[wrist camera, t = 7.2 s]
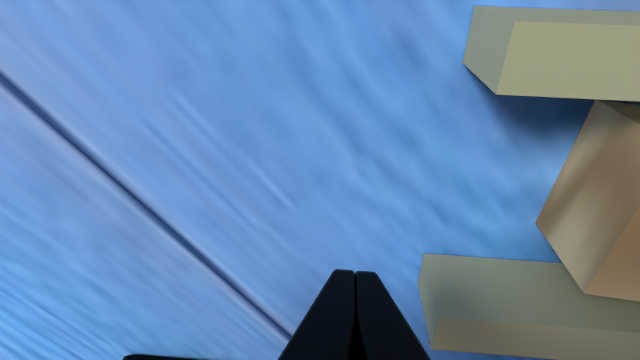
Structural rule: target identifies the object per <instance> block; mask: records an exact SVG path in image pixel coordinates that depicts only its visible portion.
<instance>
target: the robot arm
mask: <svg viewBox="0 0 640 360" xmlns="http://www.w3.org/2000/svg"><path fill="white" fill-rule="evenodd" d="M123 360H181V359H169V358H158V357H146V356H134V355H127V356H125V357H124V358H123ZM278 360H431V359H430V358H429V356H428V355H427V353H426V351H425V350H424V348H423V347H422V345H421V343H420V342H419V340H418V339H417V337H416V335H415V334H414V332H413V331H412V329H411V327H410V326H409V324H408V323H407V321H406V320H405V318H404V316H403V315H402V313H401V312H400V310H399V308H398V307H397V305H396V304H395V302H394V300H393V299H392V297H391V296H390V294H389V292H388V291H387V289H386V288H385V286H384V285H383V283H382V281H381V280H380V278H379V277H378V275H377V274H376V273H375V272H369V271H357V272H356V273H354V271H352V270H342V269H336V270H334V271H333V272H332V274H331V276H330V277H329V279H328V280H327V282H326V284H325V285H324V287H323V288H322V290H321V291H320V293H319V295H318V296H317V298H316V299H315V301H314V303H313V304H312V306H311V307H310V309H309V311H308V312H307V314H306V315H305V317H304V319H303V320H302V322H301V323H300V325H299V327H298V328H297V330H296V331H295V333H294V335H293V336H292V338H291V339H290V341H289V343H288V344H287V346H286V347H285V349H284V350H283V352H282V354H281V355H280V357H279V358H278Z"/></svg>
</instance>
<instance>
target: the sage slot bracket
mask: <svg viewBox="0 0 640 360" xmlns="http://www.w3.org/2000/svg"><path fill="white" fill-rule="evenodd" d="M463 64H464V65H465V66H466V67H467V68H468V69H469V70H471V71H472V72H473V73H474V74H475V75H476V76H477V77H478V78H479V79H480V80H481V81H482V82H483V83H484V84H485V85H486V86H488V87H489V88H490V89H491V90H492V91H493V92H494V93H495V94H496V95H516V96H537V97H558V98H578V99H599V100H620V101H640V12H629V11H602V10H575V9H547V8H520V7H493V6H474V10H473V15H472V20H471V25H470V30H469V35H468V39H467V44H466V49H465V54H464V59H463ZM418 287H419V292H420V297H421V302H422V307H423V312H424V317H425V322H426V327H427V332H428V337H429V342H430V347H431V349H433V350H445V351H457V352H470V353H482V354H494V355H506V356H518V357H531V358H543V359H555V360H640V301H633V300H626V299H618V298H611V297H604V296H597V295H590V294H584V293H583V291H582V290H581V288H580V287H579V286H578V284H577V283H576V281H575V280H574V278H573V277H572V275H571V274H570V273H569V271H568V270H567V268H566V267H565V265H564V264H563V263H554V262H539V261H525V260H510V259H496V258H482V257H467V256H453V255H438V254H424V255H423V260H422V265H421V270H420V275H419V280H418Z"/></svg>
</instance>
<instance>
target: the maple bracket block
mask: <svg viewBox="0 0 640 360" xmlns="http://www.w3.org/2000/svg"><path fill="white" fill-rule="evenodd" d="M536 225H537V226H538V228H539V229H540V231H541V232H542V233H543V235H544V236H545V238H546V239H547V241H548V242H549V244H550V245H551V246H552V248H553V249H554V251H555V252H556V254H557V255H558V257H559V258H560V260H561V261H562V262H563V264H564V265H565V267H566V268H567V270H568V271H569V273H570V274H571V275H572V277H573V278H574V280H575V281H576V283H577V284H578V286H579V287H580V288H581V290H582V291H583V293H584V294H590V295H597V296H604V297H611V298H618V299H626V300H633V301H640V105H635V104H627V103H620V102H613V101H605V100H598V99H595V101H594V103H593V105H592V107H591V109H590V111H589V114H588V116H587V118H586V120H585V122H584V124H583V126H582V128H581V130H580V132H579V134H578V136H577V138H576V140H575V142H574V145H573V147H572V149H571V151H570V153H569V155H568V157H567V159H566V161H565V163H564V165H563V167H562V169H561V171H560V173H559V175H558V178H557V180H556V182H555V184H554V186H553V188H552V190H551V192H550V194H549V196H548V198H547V200H546V202H545V204H544V206H543V209H542V211H541V213H540V215H539V217H538V219H537V221H536Z"/></svg>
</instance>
